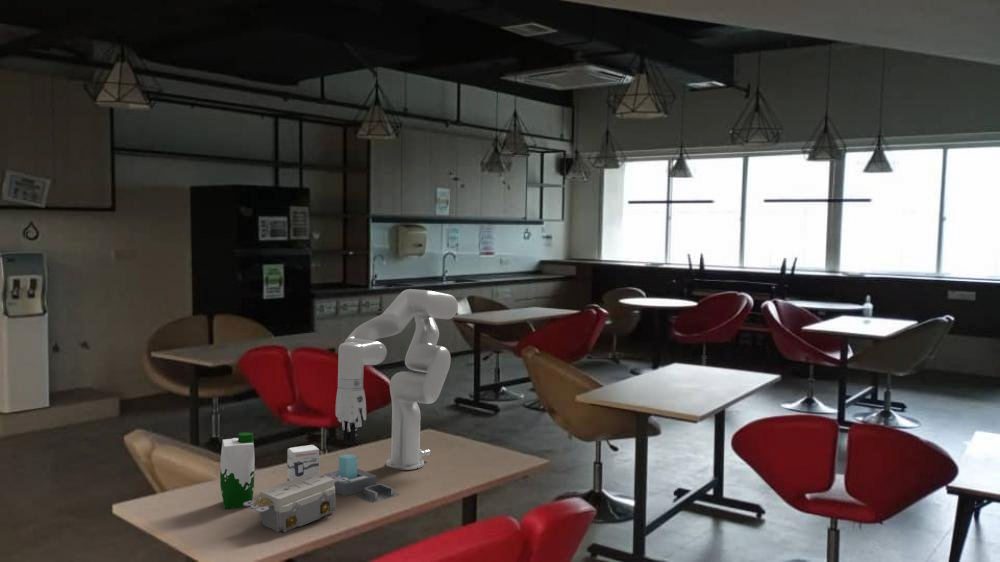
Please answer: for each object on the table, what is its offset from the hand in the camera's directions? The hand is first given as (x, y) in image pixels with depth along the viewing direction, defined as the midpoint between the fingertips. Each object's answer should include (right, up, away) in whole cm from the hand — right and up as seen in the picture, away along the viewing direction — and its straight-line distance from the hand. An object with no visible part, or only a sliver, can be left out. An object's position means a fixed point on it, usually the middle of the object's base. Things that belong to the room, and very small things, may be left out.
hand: (349, 443), depth 230 cm
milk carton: (-29, -14, -15) cm, 35 cm away
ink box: (-15, -14, +2) cm, 20 cm away
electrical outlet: (-9, -16, -25) cm, 31 cm away
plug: (-1, -14, +1) cm, 14 cm away
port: (0, -14, +1) cm, 14 cm away
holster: (+10, -15, -6) cm, 19 cm away
